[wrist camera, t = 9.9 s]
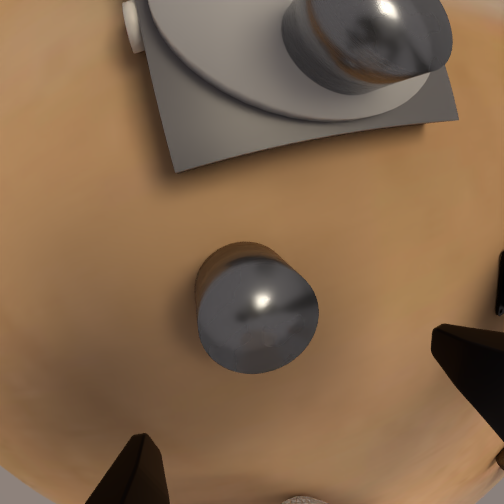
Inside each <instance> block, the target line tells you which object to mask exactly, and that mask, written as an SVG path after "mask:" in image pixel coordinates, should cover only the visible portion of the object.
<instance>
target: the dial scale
mask: <svg viewBox="0 0 504 504" xmlns="http://www.w3.org/2000/svg"><path fill="white" fill-rule="evenodd" d="M292 1H293V0H130V1H126V2H123V3H122V7H123V15H124V20H125V25H126V31H127V36H128V37H129V41H130V44H131V47H132V50H133V52H134V54H135V53H139V52H142V51H146V56H147V61H148V65H149V70H150V74H151V79H152V83H153V87H154V92H155V96H156V100H157V104H158V108H159V113H160V117H161V121H162V125H163V129H164V132H165V136H166V140H167V144H168V148H169V152H170V155H171V159H172V163H173V167H174V170H175V173H181V172H185V171H188V170H191V169H195V168H198V167H202V166H205V165H209V164H213V163H216V162H220V161H224V160H227V159H231V158H235V157H239V156H243V155H247V154H251V153H255V152H260V151H264V150H268V149H273V148H277V147H282V146H286V145H291V144H296V143H301V142H306V141H311V140H316V139H321V138H327V137H332V136H338V135H344V134H350V133H356V132H362V131H369V130H376V129H383V128H391V127H399V126H407V125H417V124H426V123H435V122H444V121H455V120H459V118H458V113H457V109H456V104H455V100H454V96H453V92H452V88H451V85H450V81H449V77H448V74H447V71H446V67H445V65H444V66H443V67H441V68H440V69H438V70H436V71H433V72H429V73H426V74H423V75H419V76H416V77H413V78H410V79H407V80H404V81H401V82H397V83H394V84H392V85H389V86H386V87H383V88H380V89H377V90H374V91H371V92H369V93H366V94H361V95H344V94H340V93H336V92H333V91H330V90H328V89H326V88H324V87H322V86H320V85H318V84H317V83H315V82H313V81H312V80H311V79H310V78H308V77H307V76H306V75H305V74H304V73H303V72H302V71H301V70H300V69H299V68H298V67H297V66H296V65H295V63H294V62H293V60H292V59H291V58H290V56H289V54H288V52H287V50H286V48H285V45H284V43H283V39H282V32H281V24H282V19H283V16H284V13H285V11H286V10H287V8H288V7H289V5H290V4H291V3H292Z"/></svg>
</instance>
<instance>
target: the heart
mask: <svg viewBox="0 0 504 504" xmlns="http://www.w3.org/2000/svg"><path fill="white" fill-rule="evenodd" d="M309 501H310V502H309ZM282 504H328V503H326V502H324V501H321V500H318V499H315V498H312V497H307V496H296V497H292V498H290V499H288V500H286V501H284V502H283V503H282Z"/></svg>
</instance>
